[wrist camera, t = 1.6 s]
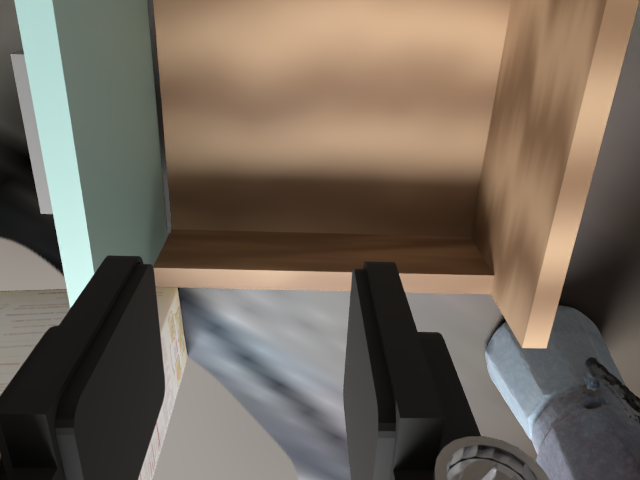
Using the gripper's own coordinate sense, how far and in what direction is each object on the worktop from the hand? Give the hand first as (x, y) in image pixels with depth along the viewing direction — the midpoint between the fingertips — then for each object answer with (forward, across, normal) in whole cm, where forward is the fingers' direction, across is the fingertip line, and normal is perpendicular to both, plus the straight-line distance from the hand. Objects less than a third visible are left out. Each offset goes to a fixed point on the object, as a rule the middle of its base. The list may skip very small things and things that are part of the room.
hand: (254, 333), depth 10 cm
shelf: (+27, -3, 0) cm, 27 cm away
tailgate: (+23, +8, 0) cm, 25 cm away
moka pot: (+27, -20, +20) cm, 39 cm away
